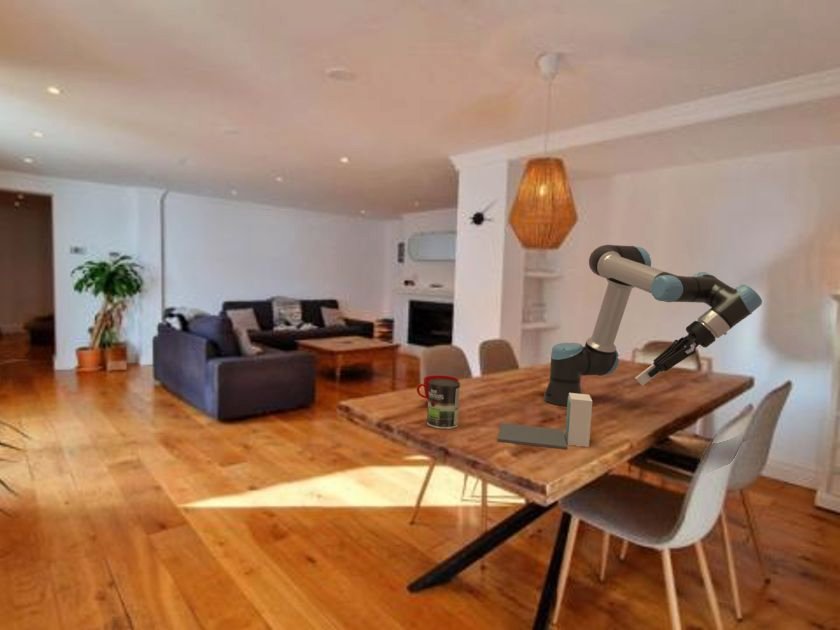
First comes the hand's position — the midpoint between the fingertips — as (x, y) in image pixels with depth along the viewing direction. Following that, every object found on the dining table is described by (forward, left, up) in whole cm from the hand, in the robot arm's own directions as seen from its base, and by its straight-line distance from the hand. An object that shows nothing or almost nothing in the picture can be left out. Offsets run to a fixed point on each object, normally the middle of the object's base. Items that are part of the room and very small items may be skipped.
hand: (638, 381), depth 143 cm
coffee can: (-56, -15, -20) cm, 62 cm away
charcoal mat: (-28, -9, -20) cm, 36 cm away
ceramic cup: (-68, +3, -20) cm, 71 cm away
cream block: (-15, -5, -20) cm, 26 cm away
